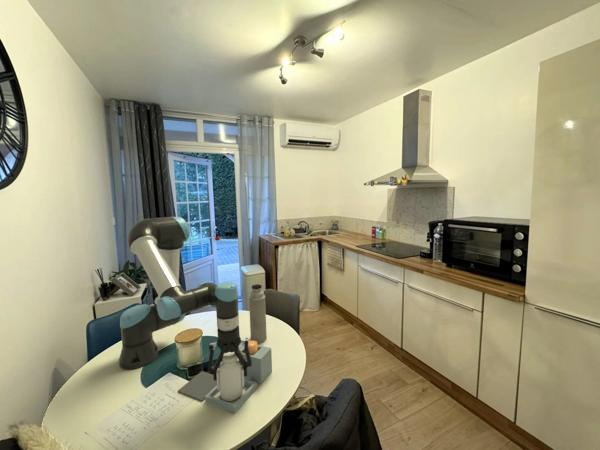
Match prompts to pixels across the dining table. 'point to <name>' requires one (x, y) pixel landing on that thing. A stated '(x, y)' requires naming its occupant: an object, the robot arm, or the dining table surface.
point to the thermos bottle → (257, 314)
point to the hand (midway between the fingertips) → (231, 385)
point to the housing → (247, 378)
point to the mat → (199, 386)
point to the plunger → (252, 347)
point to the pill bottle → (230, 377)
